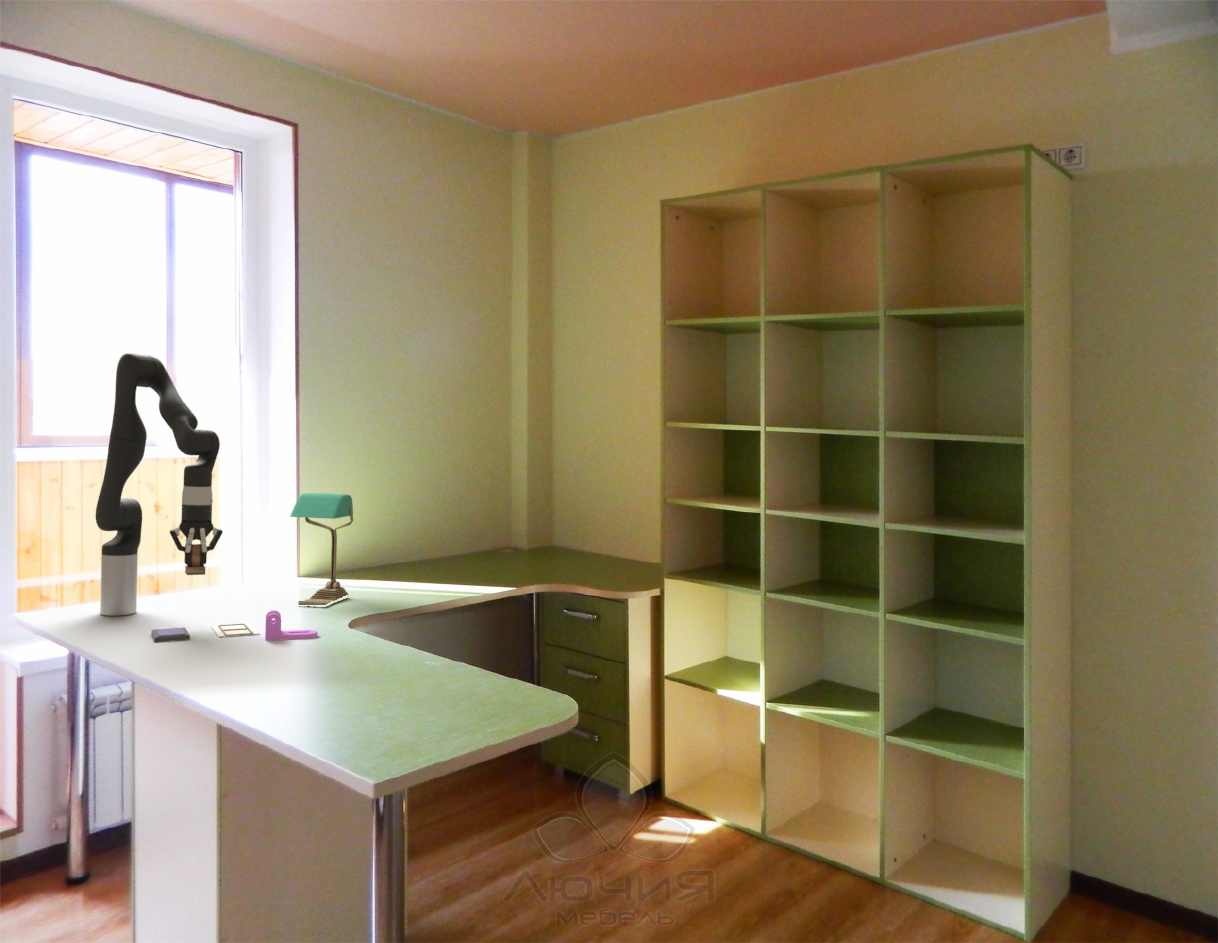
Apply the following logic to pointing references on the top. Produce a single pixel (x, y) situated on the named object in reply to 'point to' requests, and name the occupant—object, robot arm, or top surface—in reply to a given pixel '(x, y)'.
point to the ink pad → (170, 634)
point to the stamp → (195, 561)
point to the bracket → (276, 633)
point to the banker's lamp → (331, 508)
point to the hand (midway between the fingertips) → (195, 565)
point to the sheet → (235, 630)
